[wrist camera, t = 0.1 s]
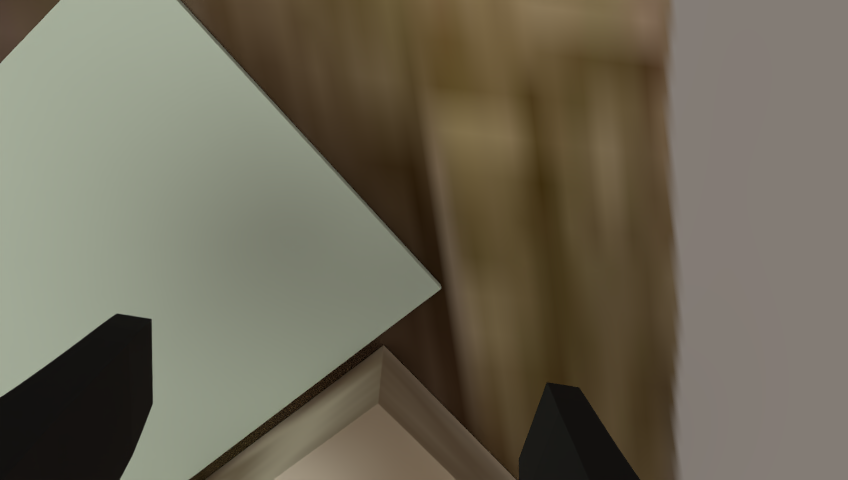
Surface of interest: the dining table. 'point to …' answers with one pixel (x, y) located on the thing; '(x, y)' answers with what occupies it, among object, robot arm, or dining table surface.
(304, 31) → the dining table surface
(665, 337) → the dining table surface
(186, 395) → the mat
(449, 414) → the deck
